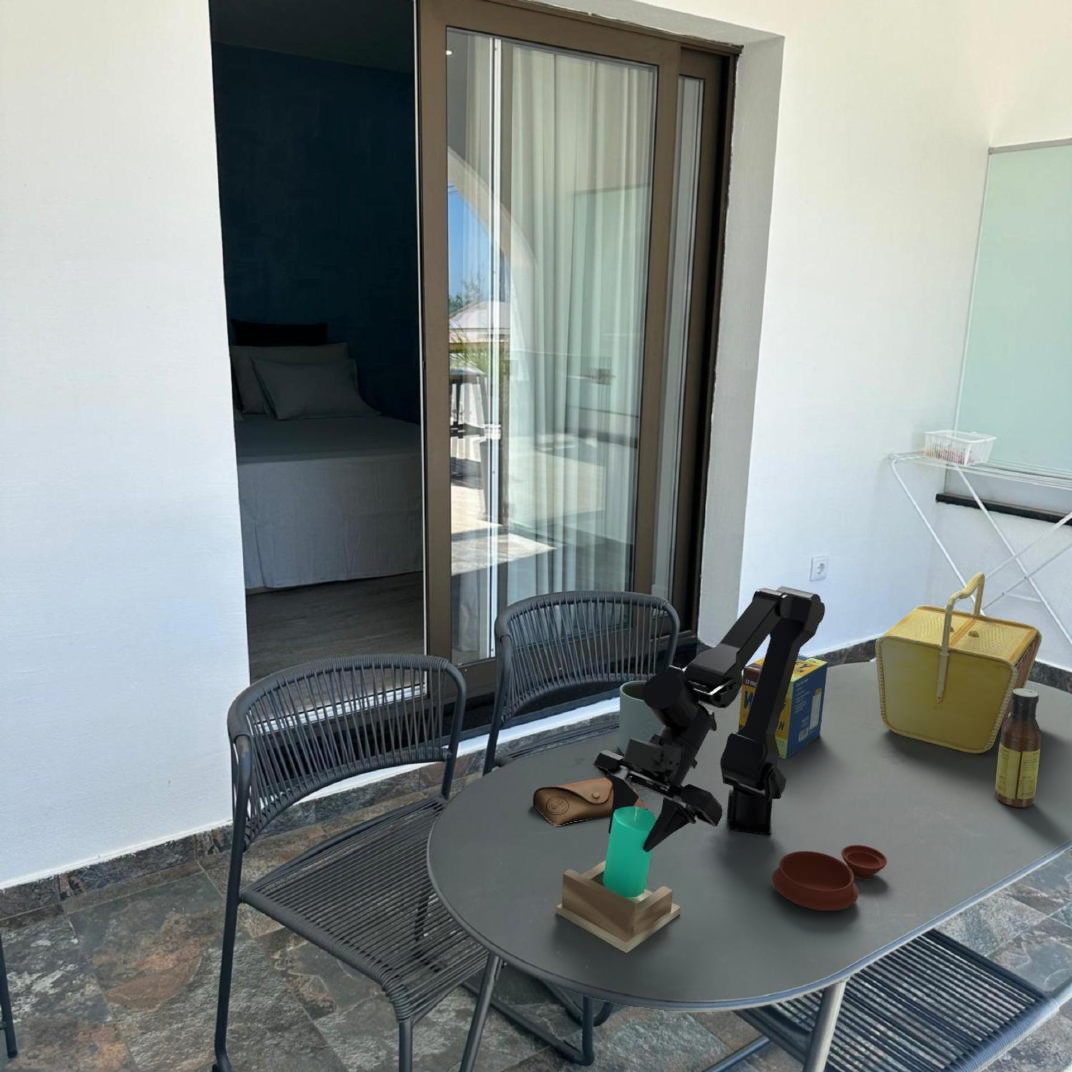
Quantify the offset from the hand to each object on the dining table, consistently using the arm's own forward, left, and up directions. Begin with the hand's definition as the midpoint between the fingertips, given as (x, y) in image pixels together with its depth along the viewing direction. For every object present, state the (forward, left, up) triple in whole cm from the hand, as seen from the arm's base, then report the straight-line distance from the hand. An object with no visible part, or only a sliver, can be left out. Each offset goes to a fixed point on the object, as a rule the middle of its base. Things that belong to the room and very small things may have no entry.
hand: (627, 842), depth 130 cm
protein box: (-21, -64, -10) cm, 68 cm away
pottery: (-28, -14, -11) cm, 33 cm away
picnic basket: (-55, -82, -10) cm, 100 cm away
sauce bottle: (-60, -50, -10) cm, 79 cm away
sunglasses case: (+9, -27, -11) cm, 31 cm away
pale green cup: (+4, -51, -10) cm, 52 cm away
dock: (+1, +1, -10) cm, 10 cm away
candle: (0, -2, -7) cm, 8 cm away
